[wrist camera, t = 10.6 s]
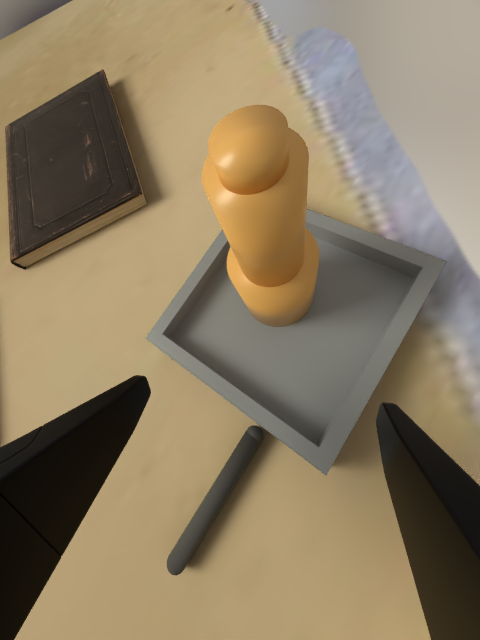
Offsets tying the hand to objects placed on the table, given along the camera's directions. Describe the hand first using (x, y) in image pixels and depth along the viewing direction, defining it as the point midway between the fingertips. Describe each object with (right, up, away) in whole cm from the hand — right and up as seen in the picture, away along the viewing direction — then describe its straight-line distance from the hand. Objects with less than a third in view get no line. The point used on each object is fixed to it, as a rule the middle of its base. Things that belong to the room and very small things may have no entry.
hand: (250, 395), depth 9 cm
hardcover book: (-21, +21, +21) cm, 37 cm away
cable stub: (-2, -9, +7) cm, 11 cm away
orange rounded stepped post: (+3, +5, +10) cm, 11 cm away
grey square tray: (+3, +3, +10) cm, 11 cm away
